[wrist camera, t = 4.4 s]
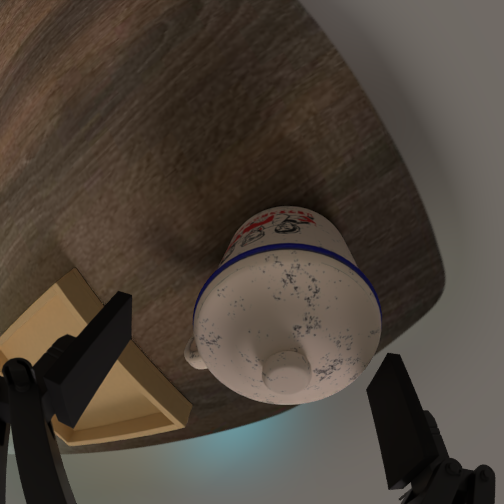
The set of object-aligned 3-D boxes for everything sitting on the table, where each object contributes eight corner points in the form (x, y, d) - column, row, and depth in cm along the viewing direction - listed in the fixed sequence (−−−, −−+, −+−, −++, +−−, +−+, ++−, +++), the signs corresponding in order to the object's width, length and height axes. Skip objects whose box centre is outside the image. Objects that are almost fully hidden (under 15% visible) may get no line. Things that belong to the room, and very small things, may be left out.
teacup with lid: (307, 175, 20) (334, 224, 9) (371, 280, 22) (425, 394, 11) (170, 266, 23) (93, 366, 13) (241, 350, 26) (215, 469, 15)
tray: (75, 266, 24) (55, 282, 22) (192, 405, 29) (185, 427, 26) (-4, 342, 31) (-17, 354, 28) (77, 432, 35) (69, 446, 32)
